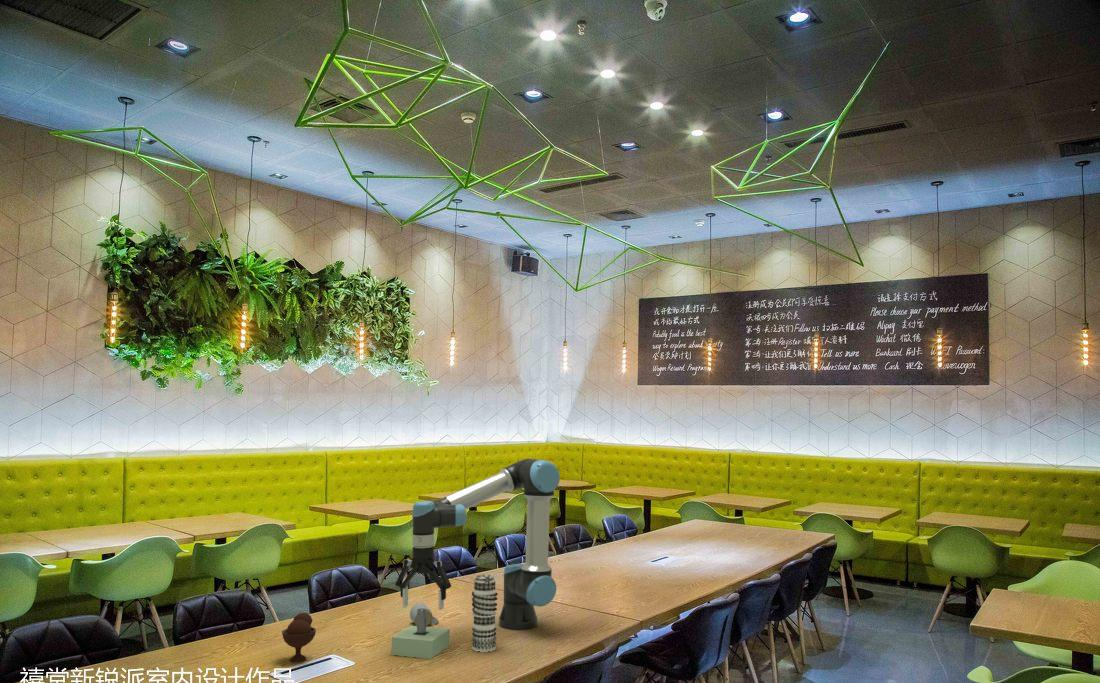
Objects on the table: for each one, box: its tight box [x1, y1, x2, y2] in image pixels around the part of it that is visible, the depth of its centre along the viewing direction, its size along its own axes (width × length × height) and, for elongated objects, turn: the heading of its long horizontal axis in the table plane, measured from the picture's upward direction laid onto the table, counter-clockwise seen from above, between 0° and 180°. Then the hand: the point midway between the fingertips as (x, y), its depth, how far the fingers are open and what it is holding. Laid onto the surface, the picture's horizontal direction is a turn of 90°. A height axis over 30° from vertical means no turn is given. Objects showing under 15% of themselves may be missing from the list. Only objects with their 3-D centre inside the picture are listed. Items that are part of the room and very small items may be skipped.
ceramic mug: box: [409, 602, 440, 627], centre depth 302 cm, size 11×8×8 cm
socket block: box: [390, 625, 451, 660], centre depth 269 cm, size 15×15×6 cm
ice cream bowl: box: [281, 612, 317, 663], centre depth 259 cm, size 11×11×15 cm
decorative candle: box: [471, 574, 499, 653], centre depth 273 cm, size 9×9×25 cm
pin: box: [416, 608, 427, 635], centre depth 270 cm, size 3×3×14 cm
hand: (423, 608), depth 271 cm, fingers open, 13 cm apart
